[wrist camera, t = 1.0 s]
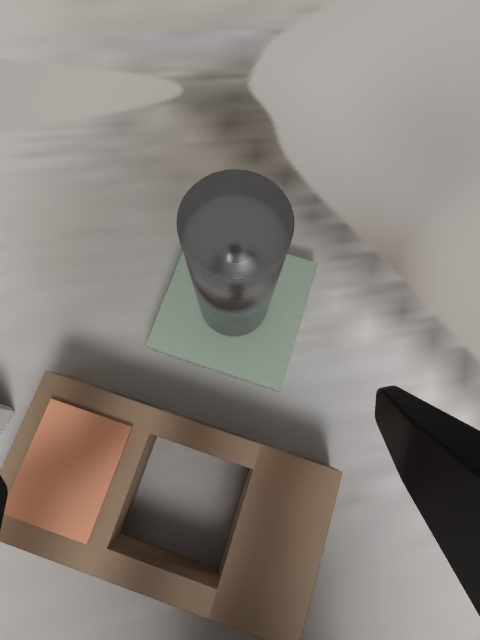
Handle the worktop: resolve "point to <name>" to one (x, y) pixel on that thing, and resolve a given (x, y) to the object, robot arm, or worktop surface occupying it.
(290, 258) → the pale green square plate
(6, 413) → the white game console
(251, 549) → the brown slotted block
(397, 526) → the worktop surface
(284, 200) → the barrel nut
